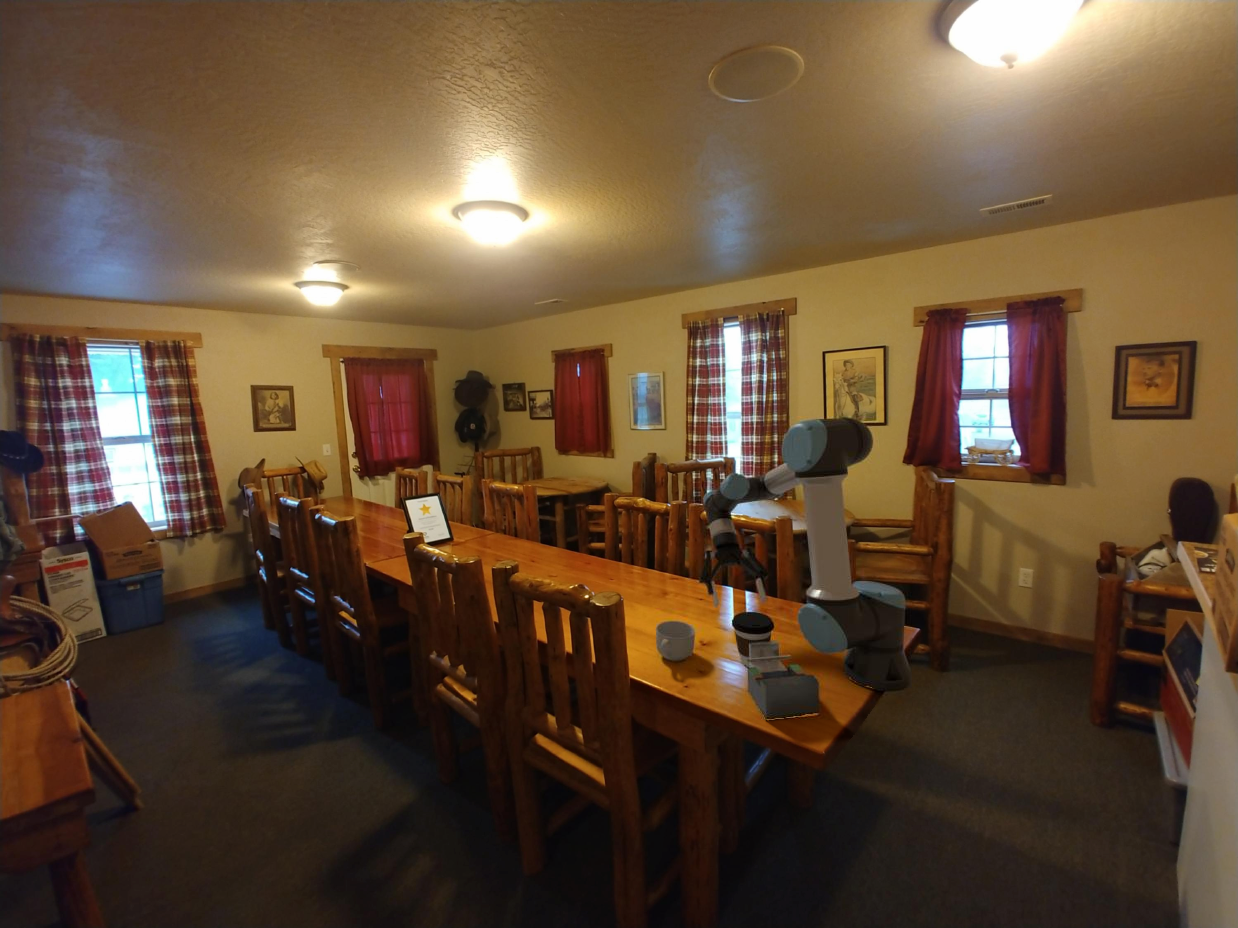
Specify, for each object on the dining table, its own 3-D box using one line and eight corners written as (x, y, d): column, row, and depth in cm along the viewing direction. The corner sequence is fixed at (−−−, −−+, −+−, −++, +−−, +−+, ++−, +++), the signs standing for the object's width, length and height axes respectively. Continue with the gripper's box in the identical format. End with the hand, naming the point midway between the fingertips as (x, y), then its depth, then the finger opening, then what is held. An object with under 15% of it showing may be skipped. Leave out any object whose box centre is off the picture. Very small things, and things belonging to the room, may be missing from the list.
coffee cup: (779, 672, 131) (779, 627, 129) (736, 673, 131) (736, 629, 129) (768, 651, 142) (767, 610, 140) (728, 652, 142) (727, 611, 140)
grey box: (747, 691, 123) (747, 660, 122) (795, 686, 124) (795, 655, 123) (765, 721, 112) (765, 686, 111) (818, 715, 113) (818, 681, 112)
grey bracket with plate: (742, 673, 128) (741, 643, 127) (784, 669, 129) (784, 639, 128) (750, 687, 122) (750, 656, 121) (794, 683, 123) (795, 652, 122)
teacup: (670, 642, 149) (669, 616, 148) (703, 653, 142) (702, 625, 141) (641, 662, 138) (640, 634, 137) (675, 675, 131) (674, 645, 130)
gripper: (760, 540, 160) (779, 604, 147) (682, 545, 158) (694, 611, 145) (766, 527, 154) (787, 594, 142) (685, 533, 152) (698, 601, 139)
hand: (740, 603), depth 143 cm, fingers open, 13 cm apart
